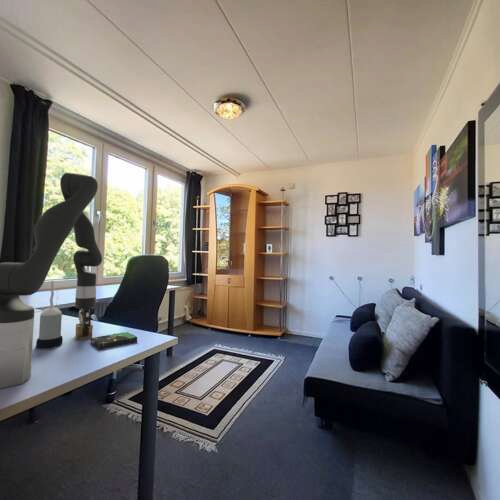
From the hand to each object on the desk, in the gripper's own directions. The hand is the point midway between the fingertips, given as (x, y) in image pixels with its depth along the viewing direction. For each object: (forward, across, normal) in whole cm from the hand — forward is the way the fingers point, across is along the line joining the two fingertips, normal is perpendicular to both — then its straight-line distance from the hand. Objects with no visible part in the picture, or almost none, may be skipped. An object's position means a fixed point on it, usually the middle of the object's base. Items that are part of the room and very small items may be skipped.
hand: (83, 333), depth 114 cm
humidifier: (+2, -5, +12) cm, 13 cm away
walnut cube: (+2, 0, 0) cm, 2 cm away
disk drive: (+2, -14, -9) cm, 17 cm away
